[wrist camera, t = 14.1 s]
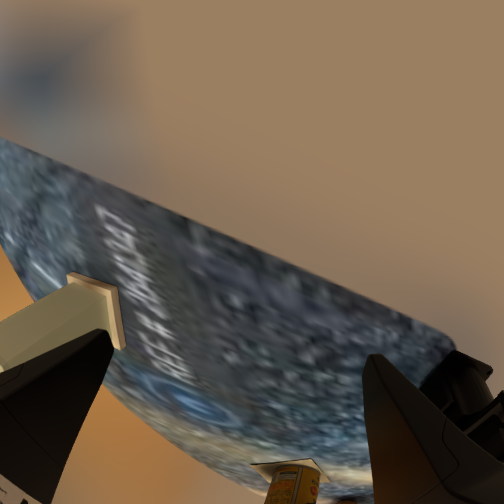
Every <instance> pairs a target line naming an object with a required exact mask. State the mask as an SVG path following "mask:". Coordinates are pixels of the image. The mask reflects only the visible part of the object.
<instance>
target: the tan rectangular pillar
mask: <svg viewBox="0 0 504 504" xmlns="http://www.w3.org/2000/svg"><path fill="white" fill-rule="evenodd" d="M97 328H100V329H105V330H107V331H108V332H109V335H110V338H111V340H112V334H111V328H110V321H109V314H108V306H107V298H106V296H104V295H102V294H99V293H97V292H95V291H92V290H90V289H88V288H86V287H83V286H81V285H79V284H77V283H75V282H72V283H70V284H68V285H66V286H64V287H62V288H60V289H58V290H57V291H55V292H53V293H51V294H49V295H47V296H45V297H44V298H42V299H40V300H38V301H36V302H34V303H33V304H31V305H29V306H27V307H25V308H24V309H22V310H20V311H19V312H17V313H15V314H13V315H11V316H10V317H8V318H6V319H5V320H3V321H1V322H0V373H1V372H3V371H6V370H8V369H10V368H13V367H15V366H17V365H19V364H21V363H25V362H26V361H28V360H30V359H32V358H35V357H37V356H39V355H41V354H43V353H45V352H47V351H50V350H52V349H54V348H56V347H58V346H60V345H62V344H65V343H67V342H69V341H71V340H73V339H75V338H77V337H79V336H82V335H84V334H86V333H88V332H90V331H92V330H94V329H97Z"/></svg>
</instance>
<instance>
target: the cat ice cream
mask: <svg viewBox="0 0 504 504" xmlns="http://www.w3.org/2000/svg"><path fill="white" fill-rule="evenodd" d="M336 504H357V503H355V502H354V501H351V500H345V501H341V502H338V503H336Z"/></svg>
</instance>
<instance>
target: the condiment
mask: <svg viewBox="0 0 504 504" xmlns="http://www.w3.org/2000/svg"><path fill="white" fill-rule="evenodd" d="M249 466H250V467H251V468H253V469H254V470H256V471H257V472H258V473H259V474H260V475H262V476H263V477H264V478H265V479H266V480H267V481H268V482H269V483H271V484H270V487H269V490H268V493H267V497H266V500H265V503H264V504H316V499H317V494H318V488H319V483H322V482H330V481H329V479H328V478H327V477H326V476H325V474H324V473H323V472H322V471H321V470H320V469H319V467H318V466H317V465H315V463H314V462H313V461H312V460H311V459H308V460H298V461H289V462H281V463H275V464H260V465H249Z"/></svg>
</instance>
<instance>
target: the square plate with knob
mask: <svg viewBox="0 0 504 504" xmlns="http://www.w3.org/2000/svg"><path fill="white" fill-rule="evenodd" d="M67 280H68V284H70V283H72V282H75V283H77V284H79V285H81V286H83V287H86V288H88V289H90V290H92V291H95V292H97V293H99V294H102V295H104V296H106V298H107V306H108V314H109V321H110V328H111V334H112V340H111V341H112V343H113V346H114V347H115V348H117V349H119V350H122V349H123V348H124V347H125V346H126V342H125V337H124V331H123V325H122V318H121V312H120V305H119V297H118V289H117V287H116V286H113V285H110V284H107V283H104V282H101V281H98V280H95V279H92V278H89V277H86V276H84V275H81V274H78V273H75V272H71V273H69V274H67Z"/></svg>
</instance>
